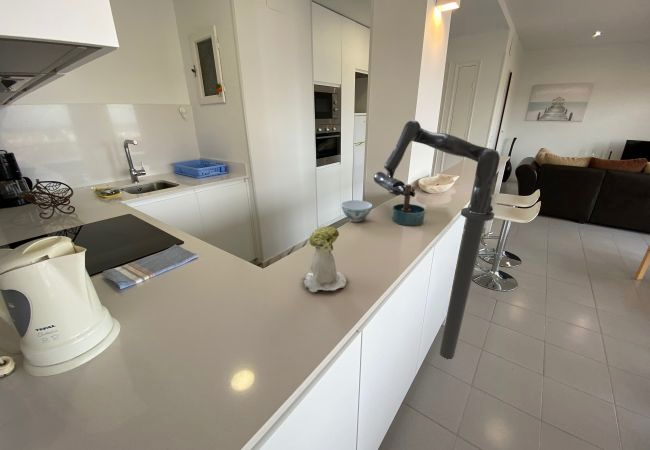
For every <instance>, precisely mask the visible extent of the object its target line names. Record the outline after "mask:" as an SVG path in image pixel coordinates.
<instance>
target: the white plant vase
mask: <svg viewBox="0 0 650 450" xmlns="http://www.w3.org/2000/svg"><path fill="white" fill-rule="evenodd" d="M339 232H340V231H339V230H338V228H336V227H335V226H334V227H333V226H321V227H319V228H317V229H314V231H312V233H311V234H310V236H309V240H308V241H309V245H310V246H312V247H315V249H314V251H313V254H312V259H311V260H310V264H309V270H310V271H311V272H307V273H306V274H305V279H304V280H303V282H304V287H305V288H308V291H310V292H312V293H316V292H318V291H321V290H322V291H336V290H338V289H340V288H345V286H346V284H347V278H346V277H345V275H344V274H343V273H341V272H340V271H338V270H337V266H336V261H335V258H336V257H334V255H333V253H332V251H334V246H333V245H334V243H335V242H336V240H337V239H338V238H339V235H340V233H339Z"/></svg>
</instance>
